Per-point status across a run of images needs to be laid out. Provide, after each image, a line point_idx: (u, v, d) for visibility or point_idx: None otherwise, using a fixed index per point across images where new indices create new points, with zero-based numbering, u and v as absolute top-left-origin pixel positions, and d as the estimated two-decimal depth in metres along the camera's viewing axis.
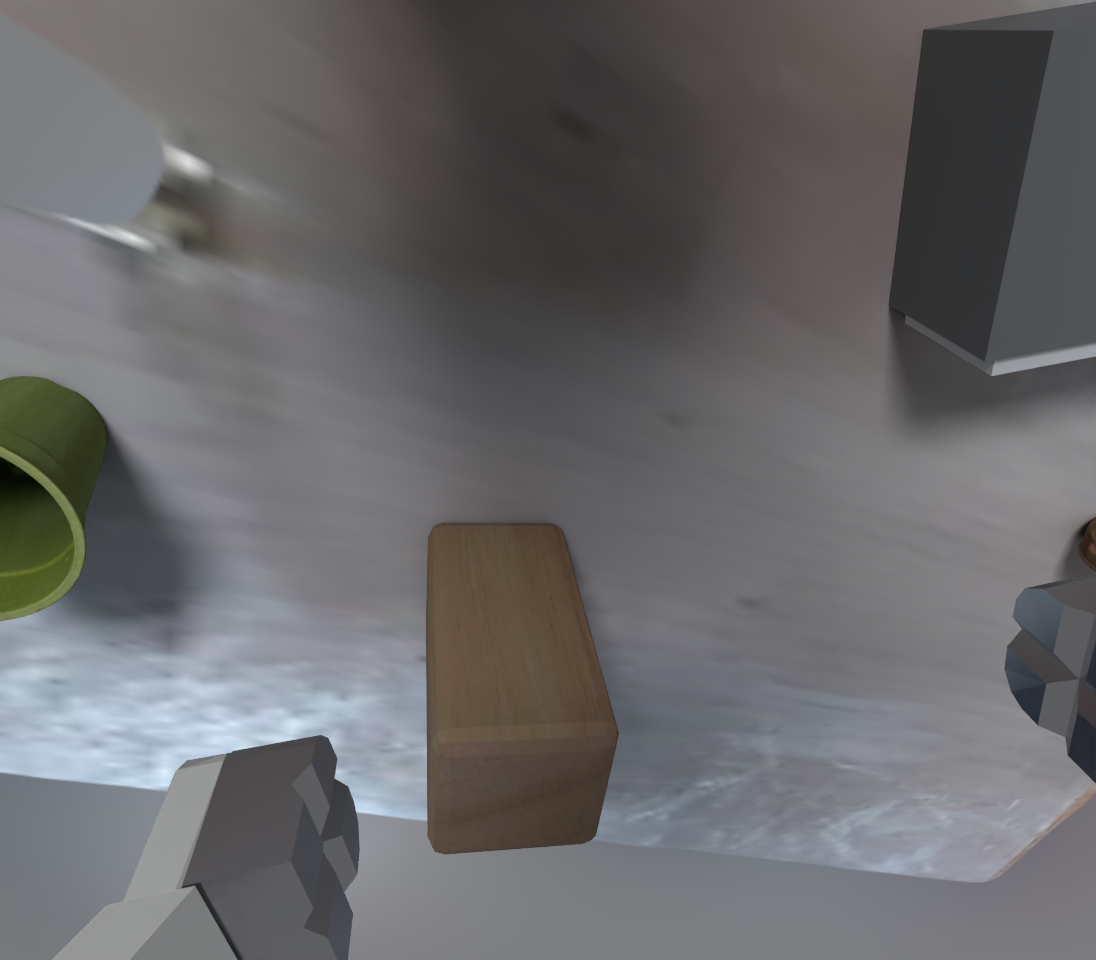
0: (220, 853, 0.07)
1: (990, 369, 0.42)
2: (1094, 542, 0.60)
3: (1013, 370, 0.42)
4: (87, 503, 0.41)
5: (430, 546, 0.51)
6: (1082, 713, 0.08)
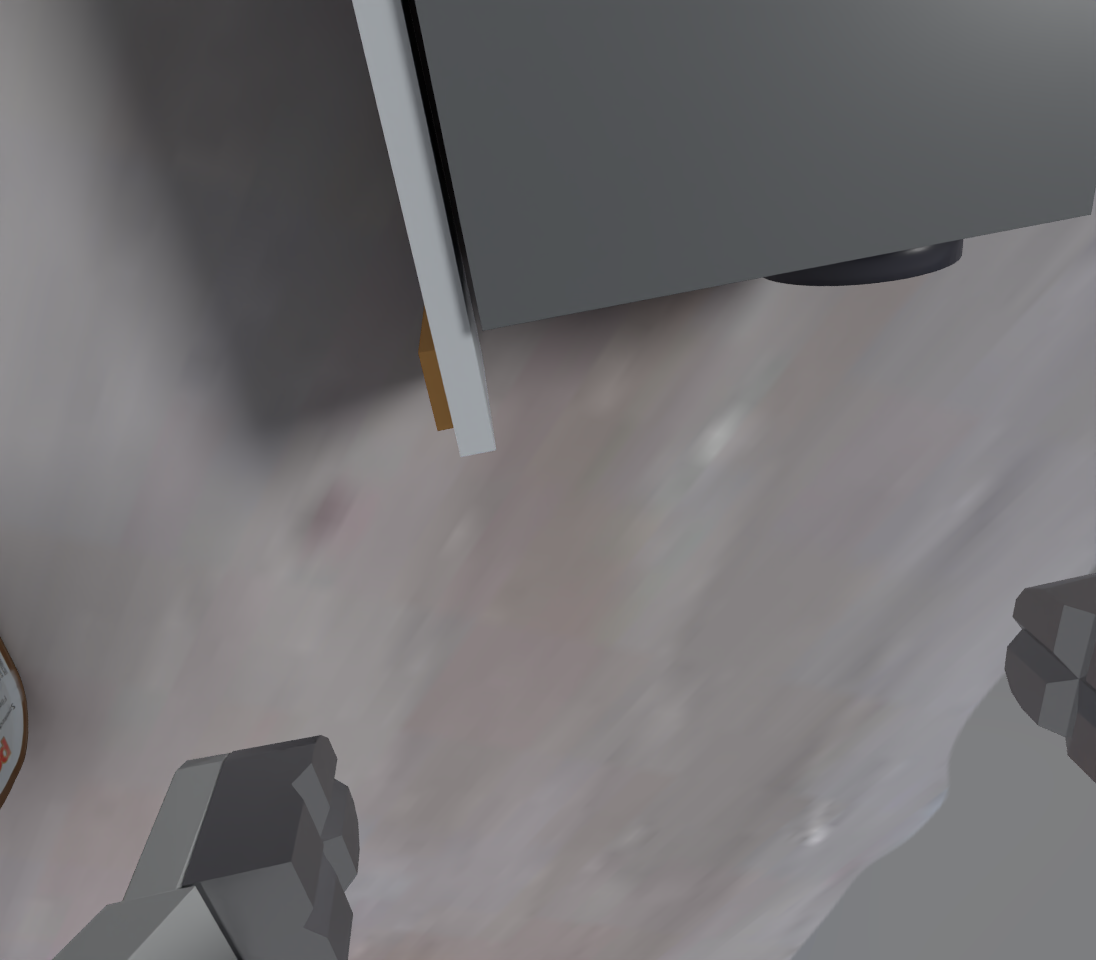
0: (219, 854, 0.07)
1: None
2: None
3: None
4: None
5: None
6: (1082, 713, 0.08)
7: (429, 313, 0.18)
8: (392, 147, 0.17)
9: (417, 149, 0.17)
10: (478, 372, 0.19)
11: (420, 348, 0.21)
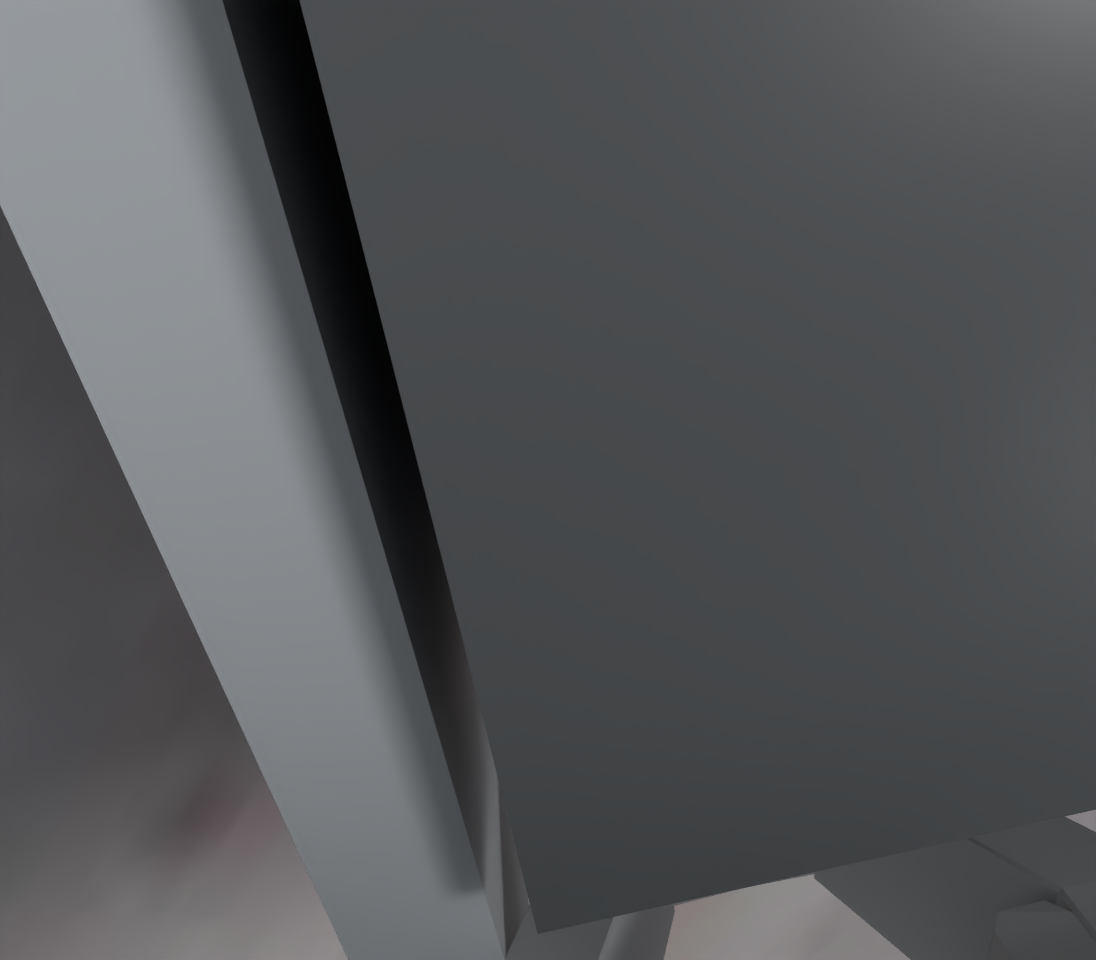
0: None
1: None
2: None
3: None
4: None
5: None
6: None
7: (307, 839, 0.04)
8: (2, 137, 0.03)
9: (172, 150, 0.03)
10: None
11: None
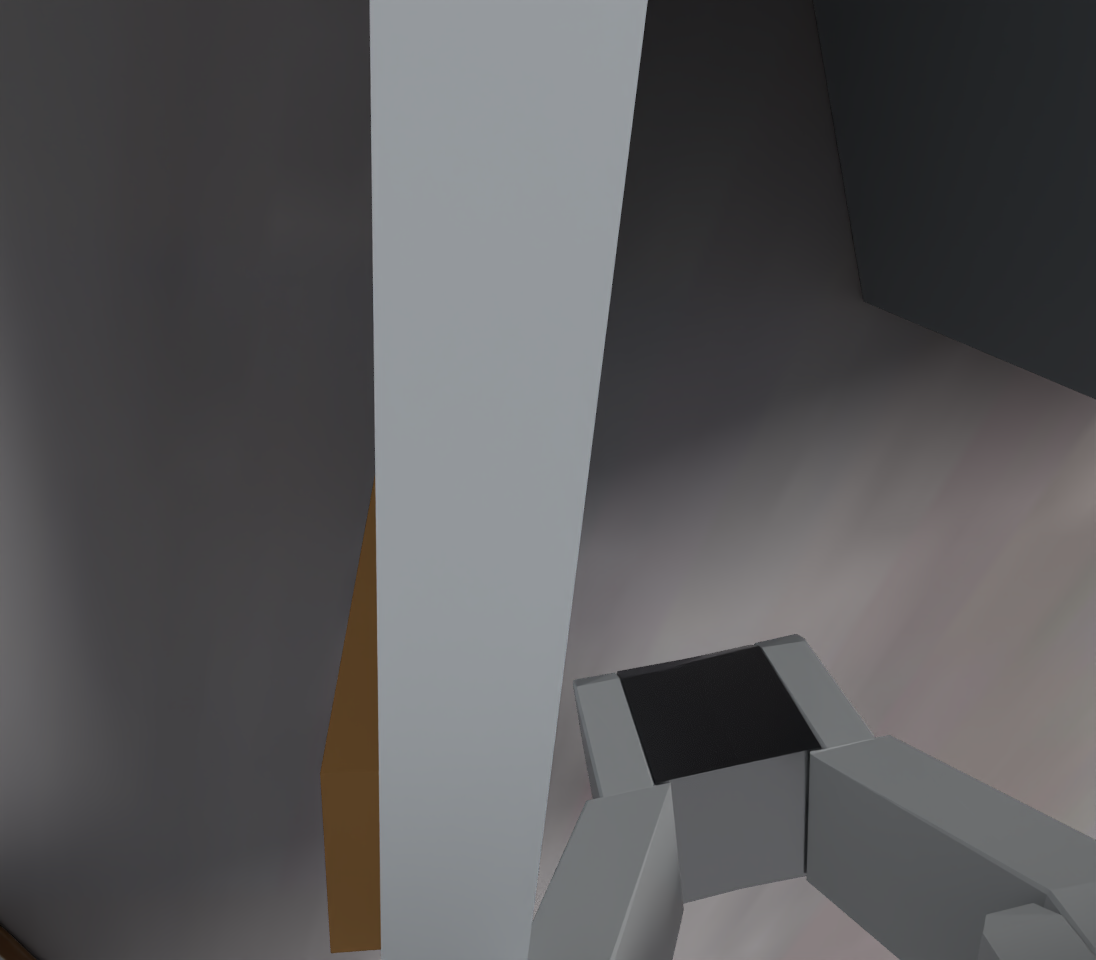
0: (676, 755, 0.07)
1: None
2: None
3: None
4: None
5: None
6: None
7: (391, 800, 0.04)
8: (399, 48, 0.03)
9: (549, 100, 0.03)
10: None
11: (332, 735, 0.06)
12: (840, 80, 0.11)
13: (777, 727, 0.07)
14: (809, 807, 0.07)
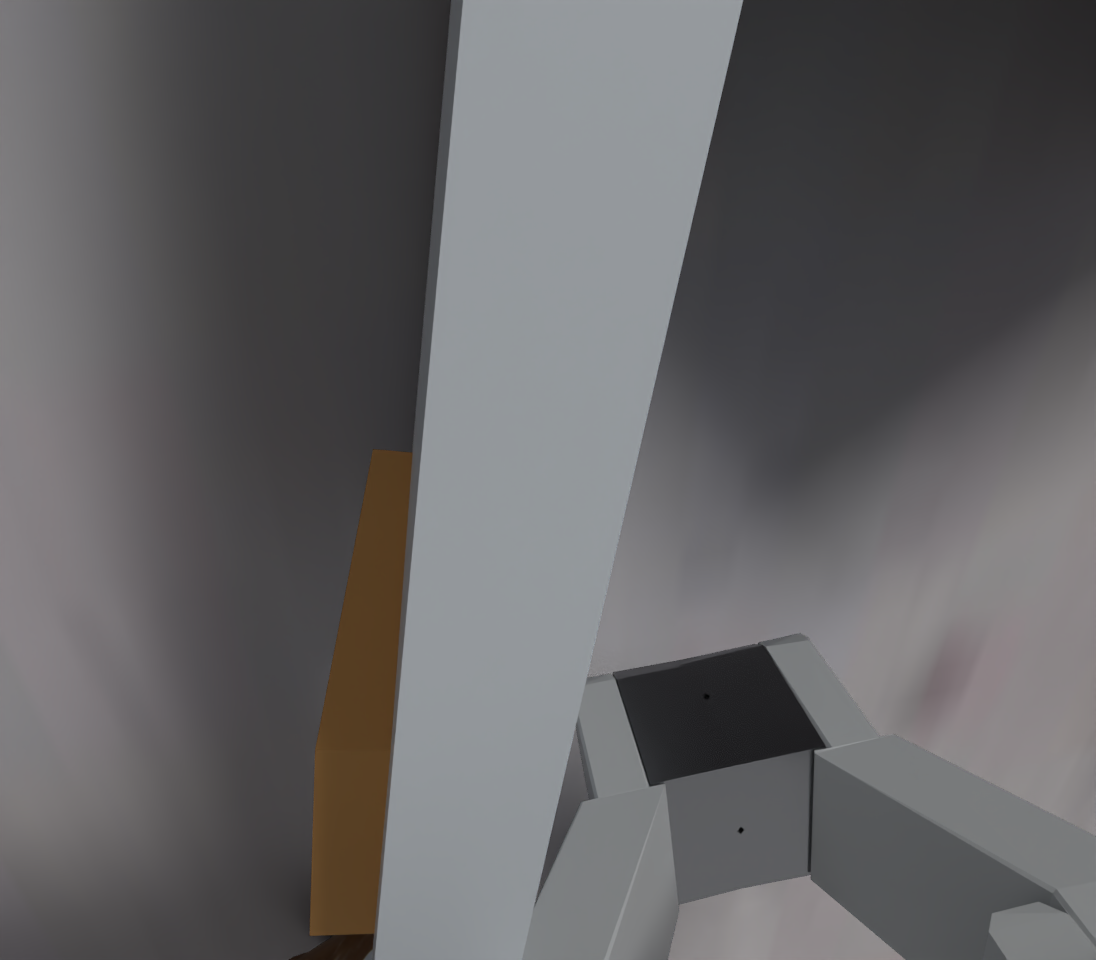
0: (671, 755, 0.07)
1: None
2: None
3: None
4: None
5: None
6: None
7: (403, 777, 0.04)
8: None
9: (643, 51, 0.03)
10: None
11: (328, 712, 0.06)
12: None
13: (781, 726, 0.07)
14: (813, 806, 0.07)
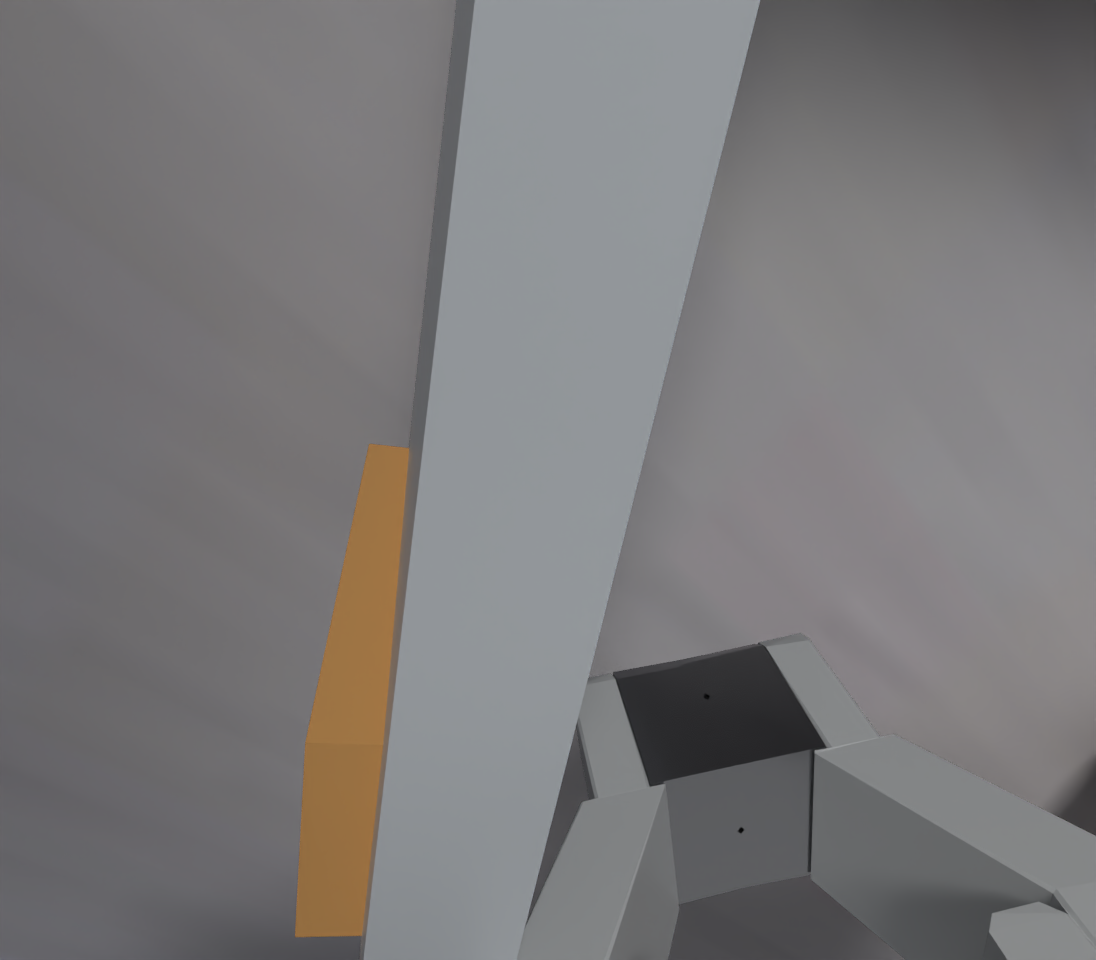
0: (671, 756, 0.07)
1: None
2: None
3: None
4: None
5: None
6: None
7: (398, 765, 0.04)
8: None
9: None
10: None
11: (319, 704, 0.06)
12: None
13: (781, 726, 0.07)
14: (813, 806, 0.07)
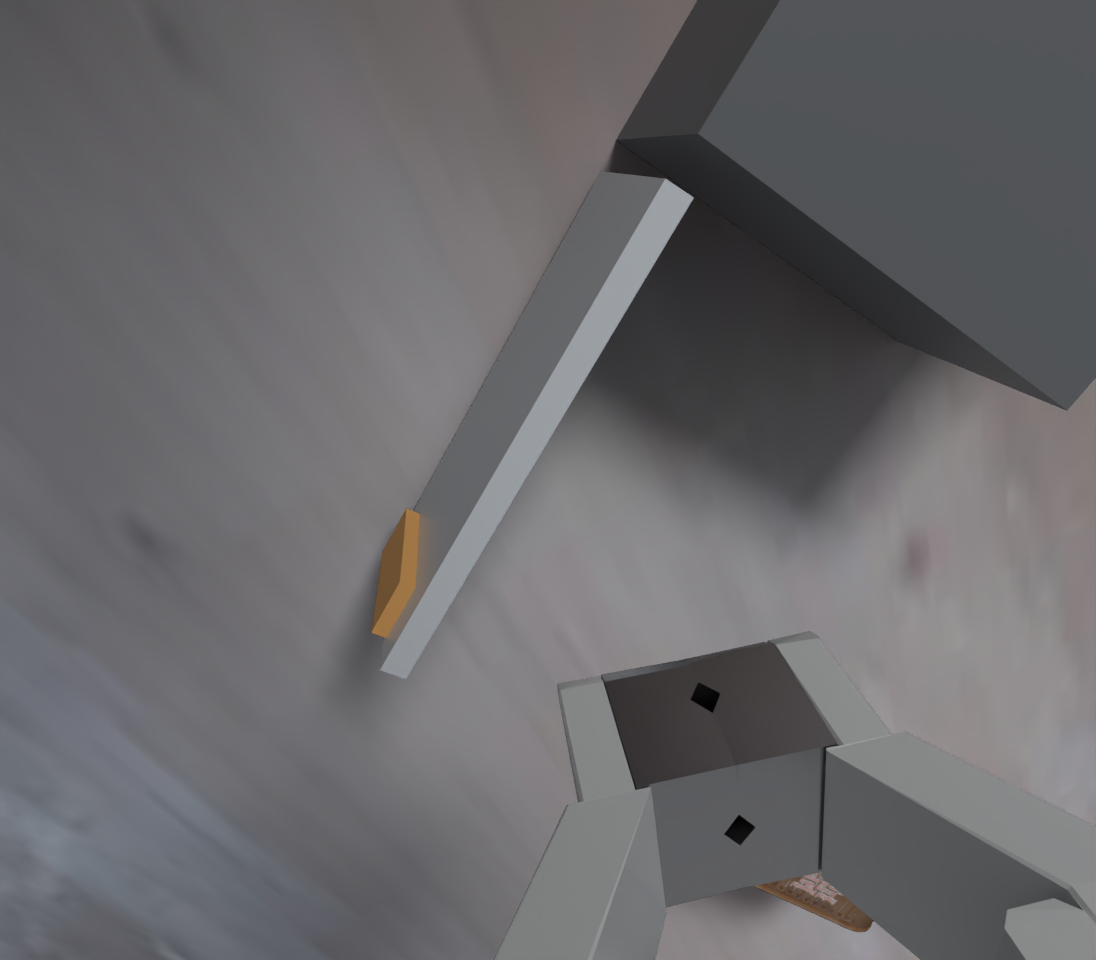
0: (657, 759, 0.07)
1: None
2: None
3: (643, 224, 0.21)
4: None
5: None
6: None
7: (433, 581, 0.25)
8: (488, 488, 0.24)
9: (502, 499, 0.24)
10: (434, 630, 0.25)
11: (401, 576, 0.27)
12: (845, 301, 0.32)
13: (792, 723, 0.07)
14: (824, 803, 0.07)
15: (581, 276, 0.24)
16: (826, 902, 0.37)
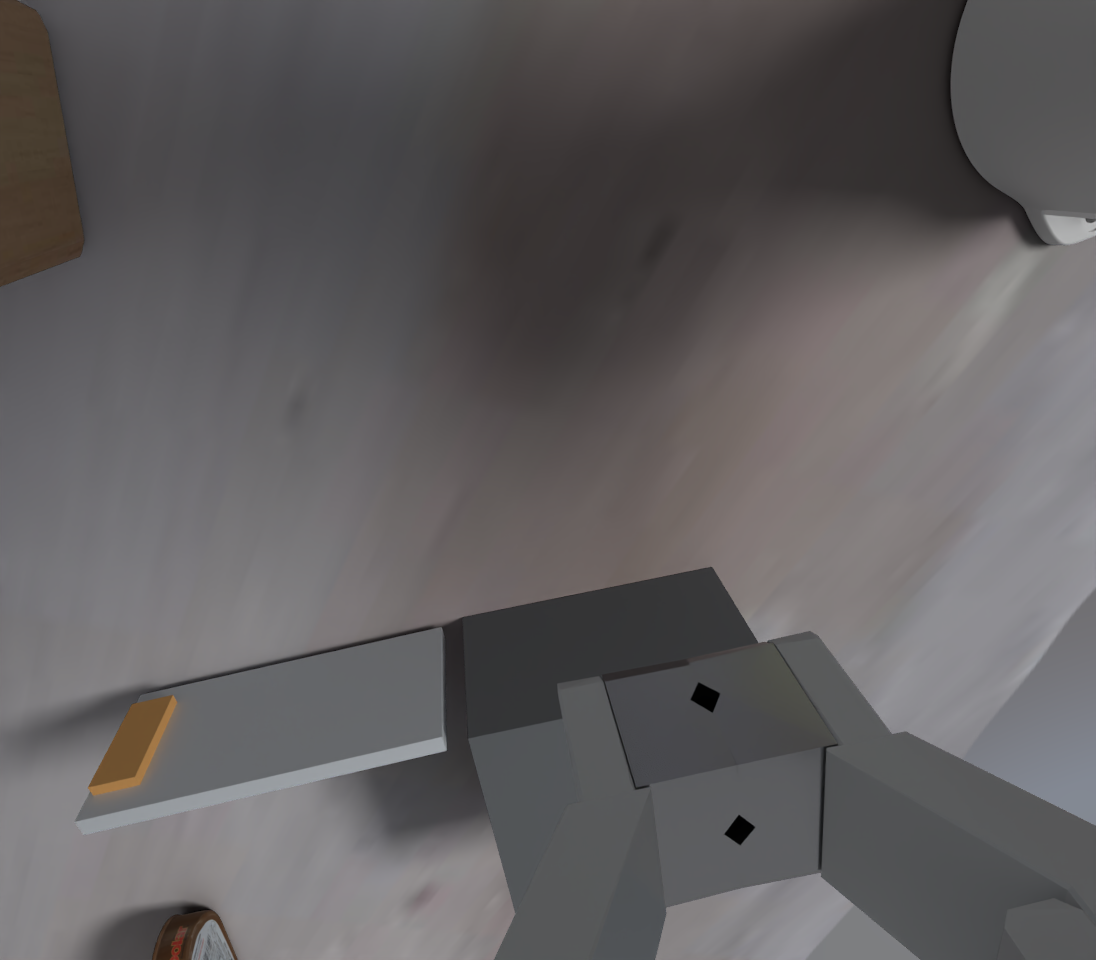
0: (657, 760, 0.07)
1: (443, 738, 0.37)
2: (190, 929, 0.50)
3: (416, 744, 0.37)
4: None
5: None
6: None
7: (156, 803, 0.36)
8: (234, 786, 0.37)
9: (235, 794, 0.37)
10: (129, 824, 0.37)
11: (138, 770, 0.38)
12: None
13: (792, 724, 0.07)
14: (824, 803, 0.07)
15: (377, 710, 0.39)
16: None
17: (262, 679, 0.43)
